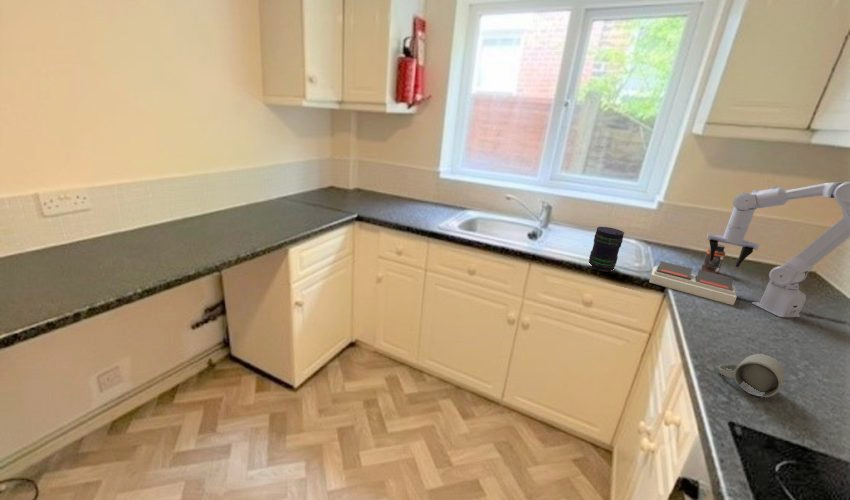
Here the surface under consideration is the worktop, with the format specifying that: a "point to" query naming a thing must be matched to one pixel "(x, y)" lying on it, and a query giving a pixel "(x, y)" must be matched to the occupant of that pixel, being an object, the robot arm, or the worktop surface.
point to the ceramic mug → (757, 373)
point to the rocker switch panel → (693, 287)
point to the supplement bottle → (714, 260)
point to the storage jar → (606, 248)
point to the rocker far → (674, 270)
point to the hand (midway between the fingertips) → (723, 263)
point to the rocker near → (715, 280)
